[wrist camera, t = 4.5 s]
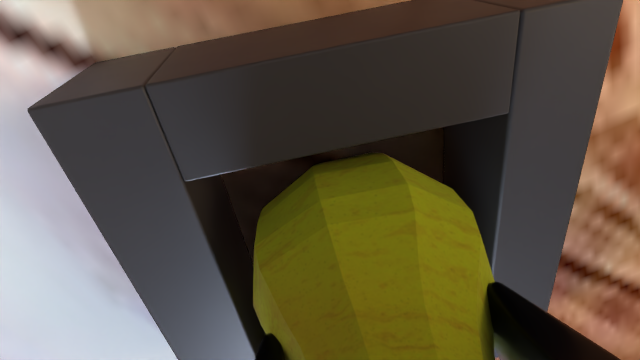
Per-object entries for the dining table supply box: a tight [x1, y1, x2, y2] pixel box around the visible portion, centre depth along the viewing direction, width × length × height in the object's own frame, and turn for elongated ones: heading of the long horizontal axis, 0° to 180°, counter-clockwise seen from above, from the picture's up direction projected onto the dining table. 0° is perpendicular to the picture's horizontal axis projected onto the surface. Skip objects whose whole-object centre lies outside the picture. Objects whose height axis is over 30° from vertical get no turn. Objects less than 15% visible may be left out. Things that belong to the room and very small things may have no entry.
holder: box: [28, 0, 623, 360], centre depth 12 cm, size 12×12×4 cm
